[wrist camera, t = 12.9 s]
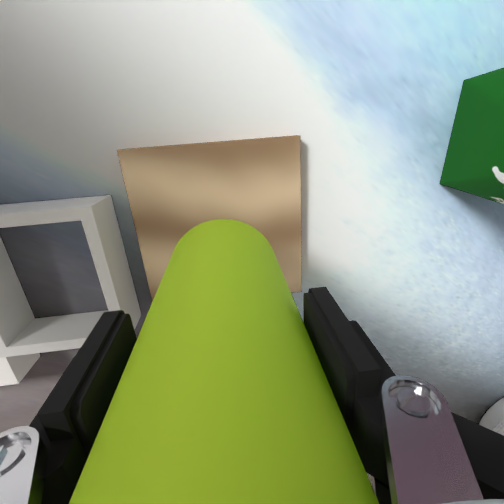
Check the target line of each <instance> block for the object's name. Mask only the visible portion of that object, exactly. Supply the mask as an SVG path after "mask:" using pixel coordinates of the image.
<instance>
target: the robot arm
mask: <svg viewBox="0 0 504 504" xmlns="http://www.w3.org/2000/svg"><path fill="white" fill-rule="evenodd" d="M304 325H305V328H306V330H307V333H308V335H309V337H310V340H311V342H312V344H313V347H314V349H315V352H316V354H317V356H318V359H319V361H320V364H321V366H322V368H323V371H324V373H325V375H326V378H327V380H328V383H329V385H330V387H331V390H332V392H333V395H334V397H335V399H336V402H337V404H338V407H339V409H340V411H341V414H342V416H343V418H344V421H345V423H346V426H347V428H348V430H349V433H350V435H351V438H352V440H353V442H354V445H355V447H356V450H357V452H358V454H359V457H360V459H361V461H362V464H363V466H364V469H365V471H366V472H367V473H369V474H370V475H371V480H372V488H373V490H374V492H375V495H376V497H377V500H378V502H379V504H504V435H501V434H499V433H497V432H495V431H492V430H490V429H488V428H485V427H483V426H481V425H479V424H476V423H474V422H472V421H470V420H467V419H465V418H463V417H461V416H458V415H456V414H454V413H451V411H450V408H449V406H448V403H447V401H446V400H445V398H444V396H443V395H442V394H441V393H440V392H439V391H438V390H437V389H436V388H435V387H434V386H432V385H431V384H429V383H428V382H426V381H424V380H422V379H419V378H417V377H413V376H408V375H397V376H396V375H395V374H394V373H393V371H392V370H391V368H390V367H389V366H388V364H387V363H386V361H385V360H384V359H383V357H382V356H381V355H380V353H379V352H378V350H377V349H376V348H375V346H374V345H373V343H372V342H371V341H370V339H369V338H368V337H367V335H366V334H365V332H364V331H363V330H362V328H361V327H360V325H359V324H358V323H357V322H356V321H354V320H353V321H348V319H347V318H346V316H345V315H344V313H343V312H342V310H341V309H340V307H339V306H338V304H337V303H336V302H335V300H334V299H333V297H332V296H331V294H330V293H329V291H328V290H327V288H326V287H319V288H311V289H309V292H308V293H304ZM136 340H137V338H136V335H135V331H134V327H133V324H132V320H131V317H130V315H129V314H125V313H124V311H123V310H117V311H108V312H104V313H103V314H102V316H101V317H100V319H99V320H98V322H97V323H96V325H95V326H94V328H93V330H92V331H91V333H90V334H89V336H88V337H87V339H86V340H85V342H84V343H83V345H82V347H81V348H80V350H79V351H78V353H77V354H76V356H75V357H74V358H73V360H72V361H71V363H70V364H69V366H68V367H67V369H66V370H65V372H64V373H63V375H62V376H61V378H60V379H59V381H58V383H57V384H56V386H55V387H54V389H53V390H52V392H51V393H50V395H49V396H48V398H47V399H46V401H45V403H44V404H43V406H42V407H41V409H40V410H39V412H38V413H37V415H36V416H35V418H34V419H33V421H32V422H31V424H30V426H21V427H16V428H13V429H9V430H7V431H5V432H3V433H1V434H0V504H69V502H70V500H71V497H72V495H73V492H74V490H75V487H76V485H77V483H78V480H79V478H80V475H81V473H82V471H83V468H84V466H85V463H86V461H87V458H88V456H89V454H90V451H91V449H92V446H93V444H94V442H95V439H96V437H97V434H98V432H99V430H100V427H101V425H102V422H103V420H104V417H105V415H106V413H107V410H108V408H109V405H110V403H111V401H112V398H113V396H114V393H115V391H116V388H117V386H118V384H119V381H120V379H121V376H122V374H123V372H124V369H125V367H126V364H127V362H128V360H129V357H130V355H131V352H132V350H133V347H134V345H135V343H136Z"/></svg>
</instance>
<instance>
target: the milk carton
mask: <svg viewBox="0 0 504 504" xmlns="http://www.w3.org/2000/svg"><path fill="white" fill-rule="evenodd" d="M440 184H442V185H445V186H448V187H452V188H455V189H458V190H461V191H464V192H467V193H470V194H474V195H477V196H480V197H483V198H486V199H489V200H493V201H496V202H499V203H502V204H504V68H501V69H498V70H495V71H492V72H489V73H486V74H482V75H479V76H476V77H473V78H470V79H467V80H464V82H463V86H462V90H461V95H460V99H459V103H458V107H457V112H456V116H455V120H454V124H453V129H452V133H451V137H450V142H449V146H448V150H447V154H446V159H445V163H444V167H443V171H442V176H441V180H440Z"/></svg>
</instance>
